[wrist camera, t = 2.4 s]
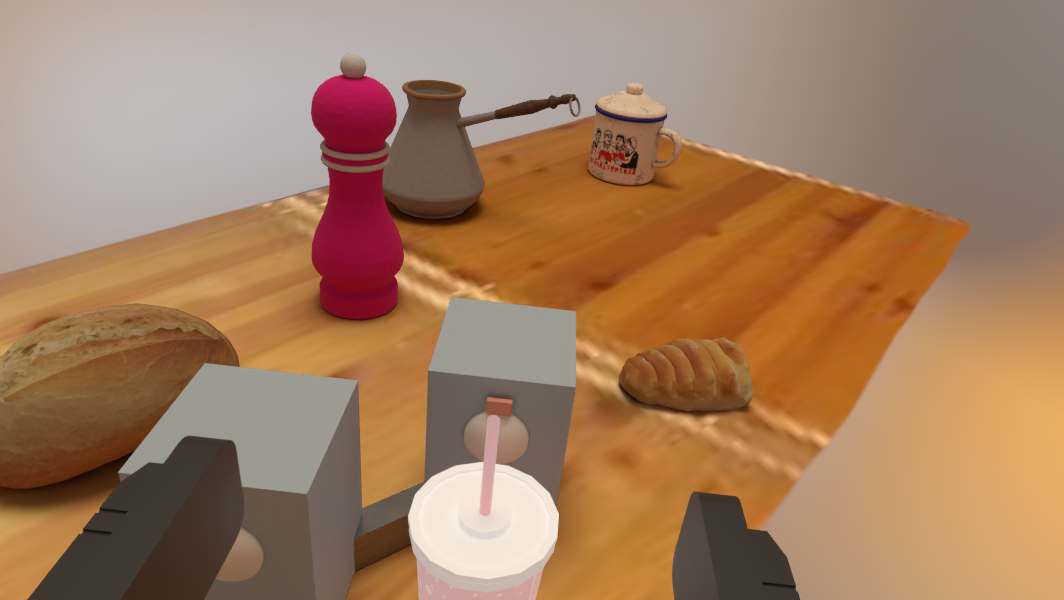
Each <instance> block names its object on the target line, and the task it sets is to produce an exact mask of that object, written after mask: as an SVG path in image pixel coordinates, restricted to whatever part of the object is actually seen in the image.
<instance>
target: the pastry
mask: <svg viewBox="0 0 1064 600" xmlns="http://www.w3.org/2000/svg"><path fill="white" fill-rule="evenodd" d="M619 381H620V384H621V386H622V387H623V388H624V389H625V390H626V391H627V392H628V393H629V394H630V395H631V396H633V397H634V398H635V399H637V400H638V401H640V402H643V403H645V404H648V405H660V406H664V407H668V408H674V409H677V410H680V411H685V412H691V411H693V410H695V411H724V410H734V409H738V408H741V407H743V406H744V405H747V404H749V403H750V401H751V398H752V380H751V377H750V374H749V363H748V359H747V357H746V356H745V354H744V352H743V351H742V349H741V348H740V347H739V345H738V344H736V343H734V342H730V341H729V340H727V339H726V338H724V337H721V338H720V339H714V340H698V339H686V338H683V339H676V340H674V341H672V342H671V343H668V344H665V345H661V346H659V347H657V348H655V349H649V350H647V351H645V352H642V353H639V354H637V355H636V356H634V357H633V358H629V359H628V360H627V361H626V363H625V365H624V367H623V369H622V371H621V374H620V376H619Z"/></svg>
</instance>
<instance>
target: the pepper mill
mask: <svg viewBox="0 0 1064 600" xmlns="http://www.w3.org/2000/svg"><path fill="white" fill-rule="evenodd" d="M340 68H341V71H342V73H343V74H344V75H340V76H335V77H333V78H330V79H328V80H326V81H325V82H324V83H323V84H322V85H320V86H319V87H318V89H317V91H316V92H315V94H314V97H313V101H312V109H311V115H312V120H313V123H314V126H315V127H316V129H317V130H318V131H319V133H320V134H321V135H322V136H323V137H324V139H325V140H324V141H323V142H322V143H321V144H320V148H321V150H322V156H321V161H322V163H323V164H324V165H326V166H327V167H328V172H329V178H330V188H329V198H328V202H327V205H326V208H325V211H324V213H323V216H322V218H321V220H320V222H319V225H318V227H317V229H316V231H315V235H314V239H313V243H312V263H313V265H314V267H315V269H316V270H317V272H318V273H319V274H320V275H321V276H322V277H323V278H322V280H321V281H320V299H321V304H322V306H323V308H324V309H325V310H327V311H328V312H329V313H331V314H333V315H335V316H338V317H342V318H346V319H369V318H374V317H378V316H381V315H383V314H386V313H387V312H389V311H390V310H392V309H393V307H394V306H395V305H396V303H397V300H398V284H397V280H396V278H395V277H394V276H395V275H396V274H397V272H398V271H399V270H400V268H401V266H402V264H403V260H404V253H403V245H402V240H401V237H400V234H399V231H398V229H397V227H396V225H395V223H394V221H393V219H392V217H391V215H390V213H389V210H388V208H387V206H386V202H385V198H384V194H383V173H384V167H386V166H387V165H388V164H389V162H390V158H389V156H388V152H389V150H390V146H389V144H388V143H387V142H385V140H386V138H387V137H388V136H389V135H390V134H391V133H392V131H393V129H394V127H395V125H396V118H397V114H396V107H395V102H394V100H393V97H392V96H391V94H390V92H389V91H388V89H387V88H386V87H385V86H383V84H381V83H379V82H378V81H376V80H375V79H372V78H370V77H367V76H363V75H364V74H365V71H366V63H365V61H364V59H363V58H362V57H361V56H360V55H358V54H356V53H349V54H347V55H345V56H344V57H343V58H342V59H341V62H340Z"/></svg>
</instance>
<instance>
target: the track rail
mask: <svg viewBox="0 0 1064 600" xmlns="http://www.w3.org/2000/svg"><path fill="white" fill-rule="evenodd" d="M424 484H425V482H423V483H421V484H418V485H416V486H414V487H411V488H409V489H407V490H404V491H402V492H400V493H397V494H395V495H393V496H390V497H388V498H385V499H383V500H381V501H378V502H376V503H374V504H371V505H369V506H367V507H364V508H362V516H361V519H360V522H359V525H358V528H357V531H356V534H355V537H354V561H355V571H357V570H359V569H361V568H363V567H365V566H367V565H369V564H371V563H374V562H376V561H378V560H380V559H382V558H384V557H386V556H388V555H390V554H392V553H394V552H397V551H399V550H401V549H403V548H405V547H407V546H409V545H411V539H410V534H409V523H408V515H409V512H410V509H411V506H412V502H413V499H414V496H415V494H416V493H417V492H418V491H419V490H420V489H421V487H422V486H423V485H424Z"/></svg>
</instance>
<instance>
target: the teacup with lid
mask: <svg viewBox="0 0 1064 600" xmlns="http://www.w3.org/2000/svg"><path fill="white" fill-rule="evenodd" d="M642 91H643V87H642V85H640V84H635V83H630V84H629V85H627V91H620V92H618V93H616V94H614V95H611V96H605V97H602V98H600V99H599V100H598V101H597V104H596V105H595V108H596V117H595V124H594V131H593V137H592V144H591V151H590V158H589V165H588V169H589V172H590V173H591V174H592V175H593V176H595V177H596V178H598V179H601V180H603V181H606V182H610V183H614V184H620V185H641V184H645V183H648V182H649V181H651V180H652V178H653V175H654V170H655V167H656V168H665V167H668V166H670V165H672V164H673V163H674V162H675V161H676V160H677V159H678V157H679V155H680V153H681V150H682V141H681V138H680V137H679V135H678V134H677V133H676V132H674V131H673V130H670V129H666V128H663V124H664V120H665V119H666V118H667V111H666V109H665V107H664V106H662V105H661V104H659V103H657V102H655V101H653V100H652V99H651V98H650V97H649V96H648V95H646V94H644V93H642ZM661 134H662V135H666V136H668V137H670V138H671V139H672V140H673V142H674V144H675V149H674V153H673V155H672V157H671V158H670V159H669V160H668V161H665V162H662V161H656V160H657V155H658V150H659V145H660V140H661Z"/></svg>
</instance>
